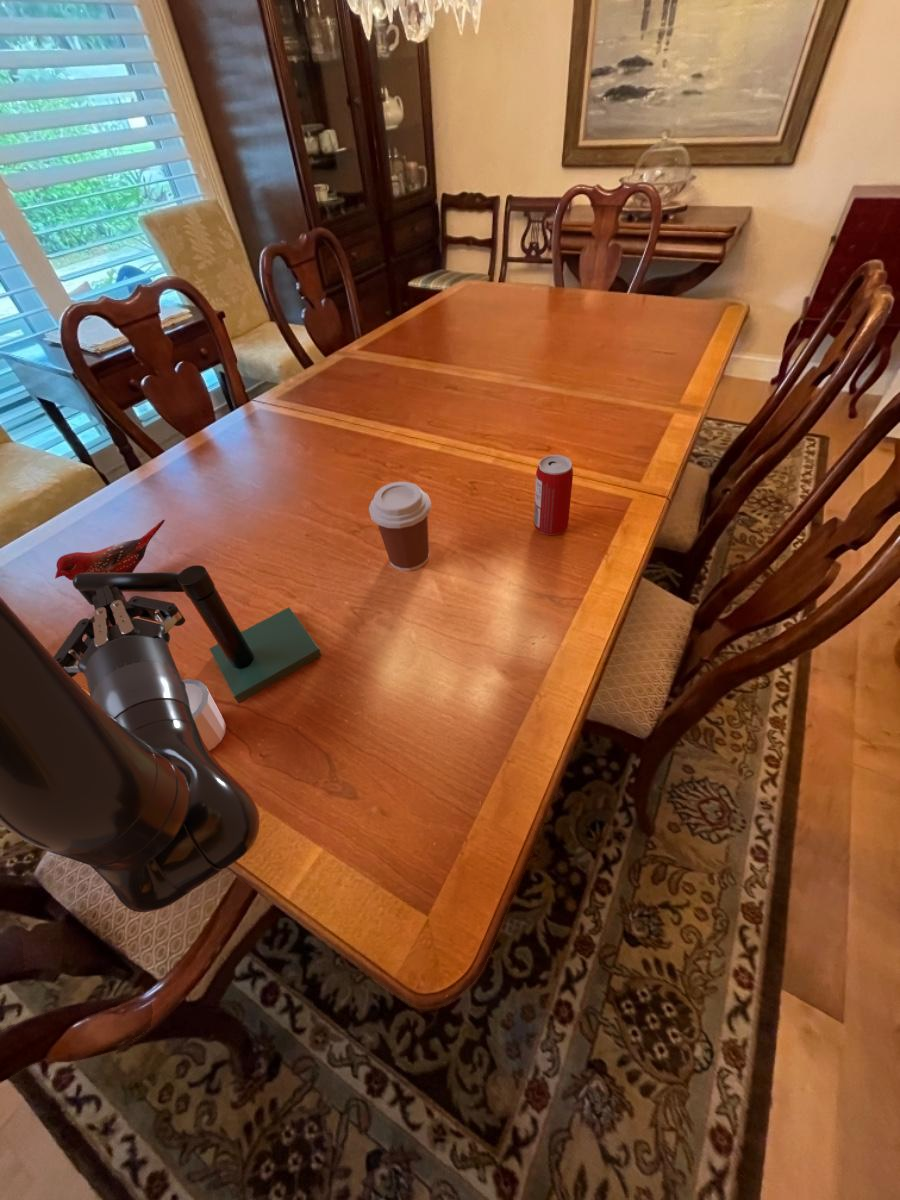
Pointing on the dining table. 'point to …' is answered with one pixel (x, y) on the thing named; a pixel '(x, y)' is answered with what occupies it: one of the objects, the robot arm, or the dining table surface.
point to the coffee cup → (403, 523)
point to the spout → (148, 582)
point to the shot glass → (205, 713)
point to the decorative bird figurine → (106, 558)
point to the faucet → (255, 647)
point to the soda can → (553, 494)
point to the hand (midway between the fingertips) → (106, 592)
